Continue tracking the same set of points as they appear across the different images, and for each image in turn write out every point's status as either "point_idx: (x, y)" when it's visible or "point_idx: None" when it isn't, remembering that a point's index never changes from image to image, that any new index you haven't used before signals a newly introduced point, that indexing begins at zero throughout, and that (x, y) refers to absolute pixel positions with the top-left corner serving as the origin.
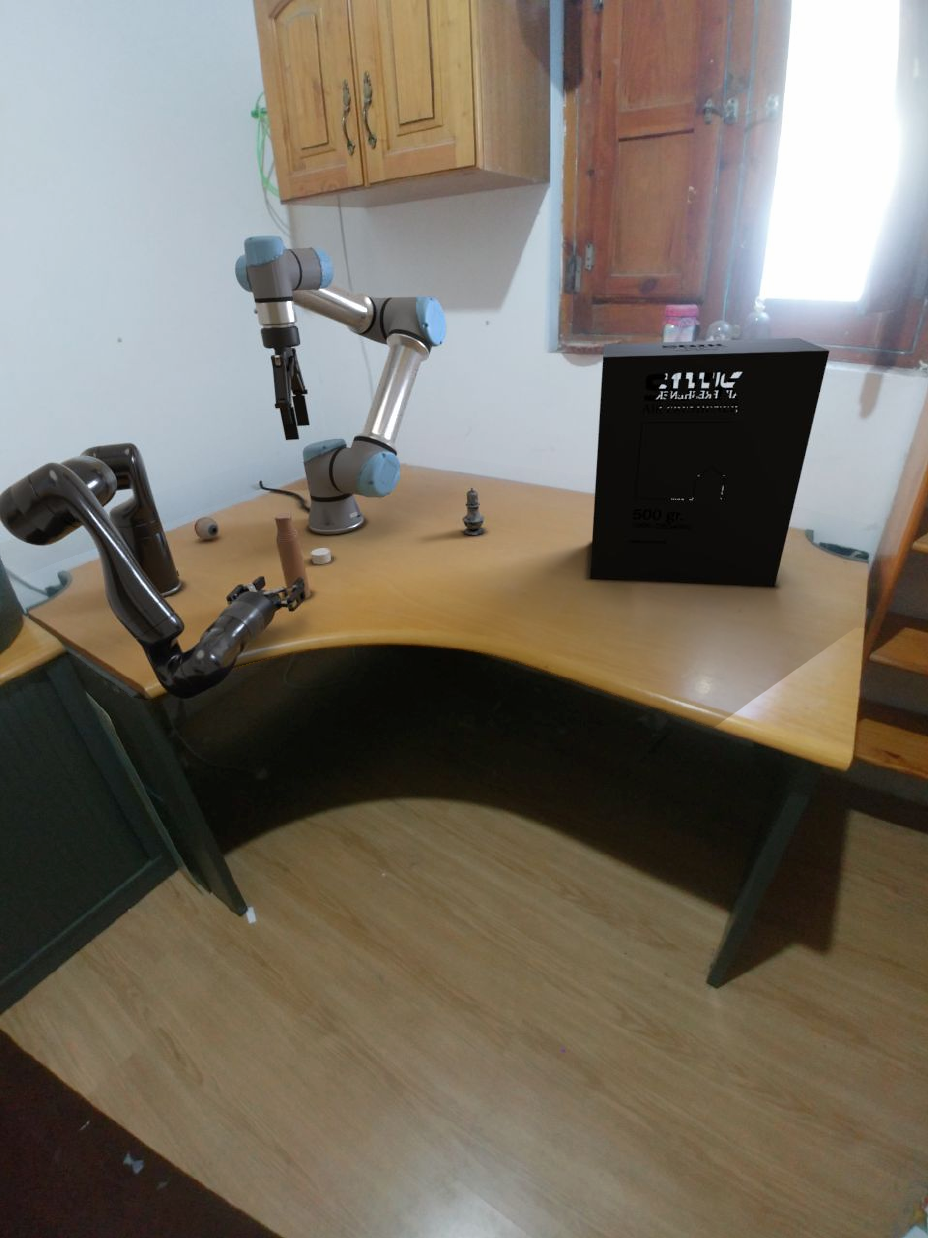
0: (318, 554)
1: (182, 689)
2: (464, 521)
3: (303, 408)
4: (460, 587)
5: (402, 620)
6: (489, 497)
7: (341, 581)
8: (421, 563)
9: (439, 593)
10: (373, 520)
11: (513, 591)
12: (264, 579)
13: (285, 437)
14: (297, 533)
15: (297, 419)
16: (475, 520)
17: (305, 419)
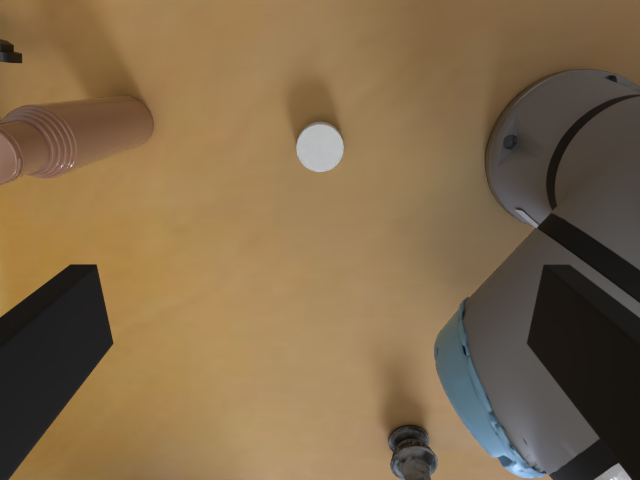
0: (302, 146)
1: None
2: (402, 449)
3: (606, 420)
4: (163, 408)
5: None
6: None
7: (199, 205)
8: (271, 351)
9: (141, 378)
10: None
11: (147, 472)
12: (13, 62)
13: (58, 274)
14: (53, 175)
15: (569, 297)
16: (396, 468)
17: (553, 352)
